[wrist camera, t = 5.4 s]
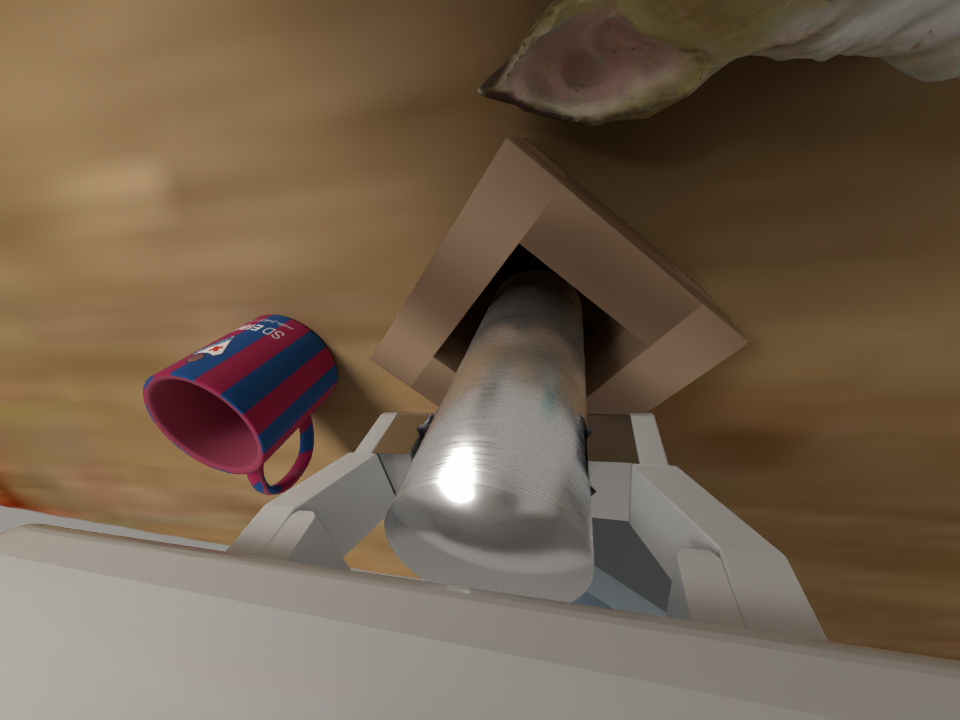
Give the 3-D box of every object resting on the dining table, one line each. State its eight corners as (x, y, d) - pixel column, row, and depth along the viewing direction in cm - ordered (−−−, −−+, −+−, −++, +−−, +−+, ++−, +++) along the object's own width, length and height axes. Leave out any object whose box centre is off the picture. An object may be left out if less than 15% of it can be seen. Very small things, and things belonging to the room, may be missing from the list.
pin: (528, 250, 14) (450, 445, 5) (602, 309, 15) (646, 574, 6) (474, 318, 17) (354, 539, 8) (541, 367, 17) (504, 626, 8)
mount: (526, 138, 14) (506, 137, 10) (703, 289, 16) (749, 342, 12) (413, 313, 20) (370, 359, 16) (552, 414, 21) (547, 480, 17)
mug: (321, 315, 21) (229, 378, 16) (360, 439, 26) (302, 521, 21) (230, 312, 23) (115, 368, 17) (284, 430, 28) (209, 503, 22)
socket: (556, 449, 22) (550, 536, 17) (670, 529, 24) (696, 632, 19) (470, 512, 28) (448, 593, 23) (568, 575, 29) (567, 664, 24)
